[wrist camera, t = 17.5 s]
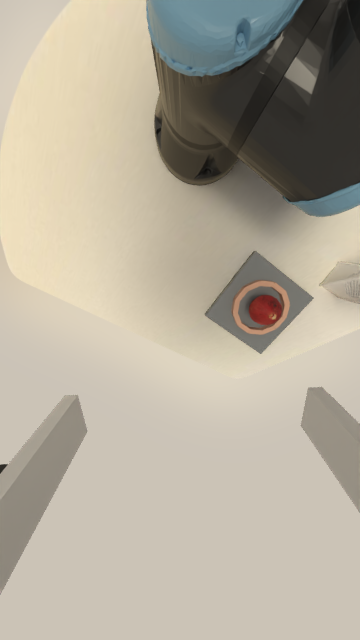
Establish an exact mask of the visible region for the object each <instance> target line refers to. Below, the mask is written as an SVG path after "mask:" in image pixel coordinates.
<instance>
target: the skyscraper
mask: <svg viewBox="0 0 360 640" xmlns="http://www.w3.org/2000/svg"><path fill="white" fill-rule="evenodd" d="M319 286H323V287H324V288H326V289H327V290H329V291H330V292H332V293H333V294H335V295H336V296H337V297H338V298H341V299H344V300H347V301H351V302H355V303H359V304H360V264H354V263H346V262H338V264H337V265H336V266H335V268H334V269H333V270H332V271H331V273H330V274H329V275H328V276H327V277H326V279H325V280H324V281H323V282H322V284H320V285H319Z"/></svg>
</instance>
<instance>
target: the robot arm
mask: <svg viewBox="0 0 360 640" xmlns="http://www.w3.org/2000/svg"><path fill="white" fill-rule="evenodd" d="M147 21H148V29H149V33H150V37H151V43H152V48H153V54H154V60H155V66H156V72H157V78H158V84H159V90H160V95H159V98H158V101H157V105H156V110H155V120H154V127H155V137H156V141H157V146H158V150H159V153H160V155H161V158H162V160H163V162H164V163H165V165H166V167H167V168H168V169H169V170H170V172H171V173H172V174H173V175H174V176H176V177H177V178H178V179H180V180H182V181H184V182H186V183H189V184H193V185H205V184H209V183H212V182H215V181H217V180H219V179H220V178H222V177H223V176H224V175H226V174H227V173H228V172H229V171H230V170H231V168H232V167H233V166H234V165H235V163H236V161H237V160H238V158H239V159H240V160H242V161H243V162H244V163H245V164H246V165H247V166H249V167H250V168H251V169H252V170H253V171H255V172H256V173H257V174H258V175H259V176H261V177H262V178H263V179H264V180H265V181H267V182H268V183H269V184H270V185H271V186H272V187H274V188H275V189H276V190H277V191H278V192H280V193H281V194H282V195H283V198H284V199H285V201H287V202H288V203H291V204H293V205H295V206H297V207H298V208H299V209H301V210H302V211H303V212H305V213H306V214H308V215H312V216H316V217H325V216H331V215H335V214H339V213H342V212H344V211H347V210H349V209H352V208H354V207H356V206H358V205H360V0H147ZM301 427H302V428H303V430H304V431H305V433H306V434H307V435H308V437H309V438H310V440H311V441H312V443H313V444H314V446H315V447H316V449H317V450H318V452H319V453H320V454H321V456H322V458H323V459H324V461H325V462H326V463H327V465H328V466H329V468H330V469H331V471H332V472H333V474H334V475H335V477H336V478H337V480H338V481H339V483H340V484H341V486H342V487H343V489H344V490H345V491H346V493H347V494H348V496H349V497H350V499H351V500H352V502H353V503H354V504H355V506H356V507H357V509H358V511H359V512H360V424H359V423H358V422H357V421H356V420H355V419H354V418H353V417H352V416H351V415H350V414H349V413H348V412H347V411H346V410H345V409H344V408H343V407H342V406H341V405H340V404H339V403H338V402H337V401H336V400H335V399H334V398H333V397H331V395H330V394H328V393H327V392H326V391H325V390H324V389H323V388H322V387H317V388H308V391H307V396H306V401H305V407H304V412H303V417H302V423H301ZM86 433H87V428H86V424H85V421H84V417H83V413H82V409H81V406H80V402H79V398H78V395H68V396H64V397H63V398H62V400H61V401H60V402H59V403H58V404H57V406H56V407H55V408H54V409H53V411H52V412H51V413H50V414H49V415H48V417H47V418H46V419H45V420H44V422H43V423H42V424H41V425H40V426H39V428H38V429H37V430H36V431H35V432H34V434H33V435H32V436H31V437H30V439H29V440H28V441H27V442H26V443H25V444H24V446H23V447H22V448H21V450H20V451H19V452H18V453H17V454H16V455H15V457H14V458H13V459H12V461H11V462H10V463H9V464H3V465H0V594H1V592H2V590H3V589H4V587H5V585H6V583H7V581H8V579H9V577H10V575H11V573H12V572H13V570H14V568H15V566H16V564H17V562H18V560H19V559H20V557H21V555H22V553H23V551H24V549H25V547H26V545H27V544H28V542H29V540H30V538H31V536H32V534H33V532H34V530H35V529H36V526H37V525H38V523H39V521H40V519H41V517H42V515H43V513H44V512H45V510H46V508H47V506H48V504H49V502H50V500H51V499H52V497H53V495H54V493H55V491H56V489H57V487H58V485H59V483H60V482H61V480H62V478H63V476H64V474H65V472H66V471H67V469H68V466H69V465H70V463H71V461H72V459H73V457H74V455H75V454H76V452H77V450H78V448H79V446H80V444H81V442H82V441H83V438H84V437H85V435H86Z"/></svg>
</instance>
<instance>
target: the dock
mask: <svg viewBox="0 0 360 640" xmlns="http://www.w3.org/2000/svg"><path fill="white" fill-rule="evenodd" d="M261 295H271V296H273V297H275V298H277V299H278V301H279V302H280V304H281V305H282V314H281V317H280V318H279V320H278V321H276V322H275V323H274V324H270V325H260V324H258V323H256V322H254V321H253V320H252V319H251V317H250V314H249V306H250V304H251V303H252V301H253V300H254V299H255V298H257V297H259V296H261ZM312 299H313V297H312V296H310V295H309V294H308V293H307V292H305V291H304V290H303V289H302V288H301V287H299V286H298V285H297V284H296V283H294V282H293V281H292V280H291V279H289V278H288V277H287V276H286V275H284V274H283V273H282V272H281V271H280V270H278V269H277V268H276V267H275V266H273V265H272V264H271V263H270V262H268V261H267V260H266V259H265V258H263V257H262V256H261V255H260V254H259V253H257V252H256V251H254V252H253V253H252V254H251V256H250V257H249V258H248V259H247V261H246V262H245V263H244V264H243V266H242V267H241V268H240V270H239V271H238V272H237V273H236V275H235V276H234V277H233V279H232V280H231V281H230V282H229V284H228V285H227V286H226V288H225V289H224V290H223V291H222V293H221V294H220V295H219V296H218V298H217V299H216V300H215V302H214V303H213V304H212V305H211V307H210V308H209V309H208V311H207V312H206V313H205V316H207V317H208V318H210V319H211V320H212V321H214V322H215V323H217V324H218V325H220V326H221V327H223V328H224V329H225V330H227V331H228V332H230V333H231V334H233V335H234V336H236V337H237V338H238V339H240V340H241V341H243V342H244V343H246V344H247V345H249V346H250V347H251V348H253V349H254V350H256V351H257V352H259V353H260V354H261V353H262V352H263V351H264V350H265V349H266V348H267V347H268V346H269V345H270V344H271V343H272V342H273V341H274V340H275V339H276V337H277V336H278V335H279V334H280V333H281V332H282V331H283V330H284V329H285V328H286V327H287V326H288V325H289V324H290V323H291V322H292V321H293V320H294V318H295V317H296V316H297V315H298V314H299V313H300V312H301V311H302V310H303V309H304V308H305V307H306V306H307V305H308V304H309V303H310V302H311V301H312Z"/></svg>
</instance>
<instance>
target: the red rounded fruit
mask: <svg viewBox="0 0 360 640" xmlns="http://www.w3.org/2000/svg"><path fill="white" fill-rule="evenodd" d="M249 314H250V317H251V319H252V320H253V321H254V322H256V323H258V324H260V325H270V324H274V323H275V322H276V321H278V320H279V318H280V317H281V314H282V305H281V304H280V302H279V301H278V299H277V298H275V297H273V296H271V295H261V296H259V297H257V298H255V299H254V300H253V301H252V303H251V304H250V306H249Z"/></svg>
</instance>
